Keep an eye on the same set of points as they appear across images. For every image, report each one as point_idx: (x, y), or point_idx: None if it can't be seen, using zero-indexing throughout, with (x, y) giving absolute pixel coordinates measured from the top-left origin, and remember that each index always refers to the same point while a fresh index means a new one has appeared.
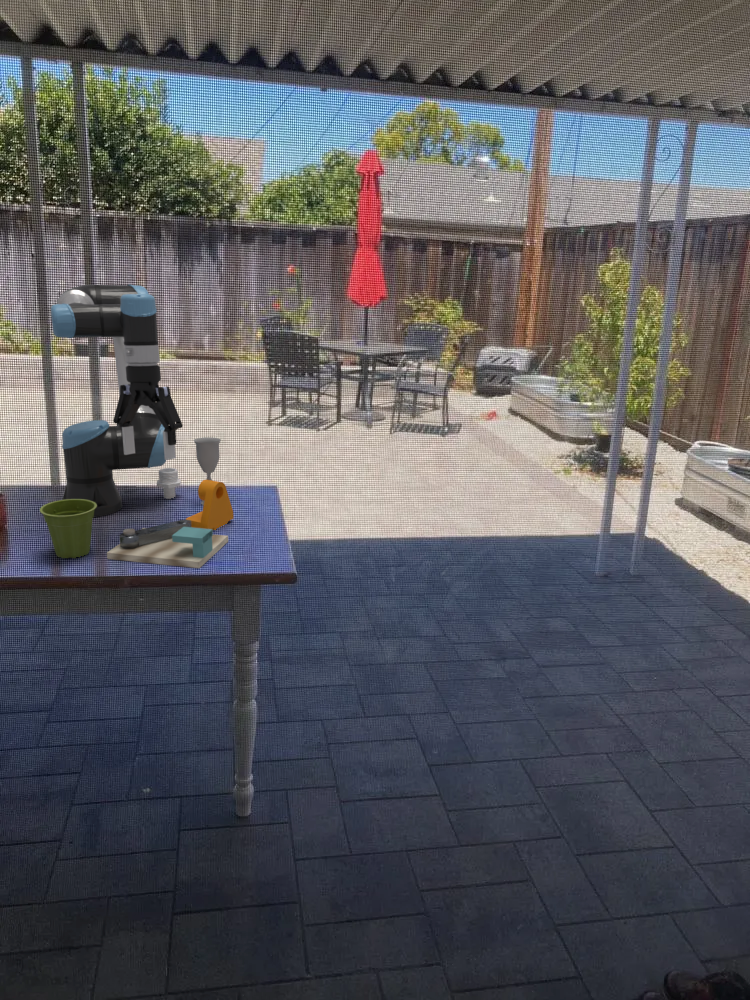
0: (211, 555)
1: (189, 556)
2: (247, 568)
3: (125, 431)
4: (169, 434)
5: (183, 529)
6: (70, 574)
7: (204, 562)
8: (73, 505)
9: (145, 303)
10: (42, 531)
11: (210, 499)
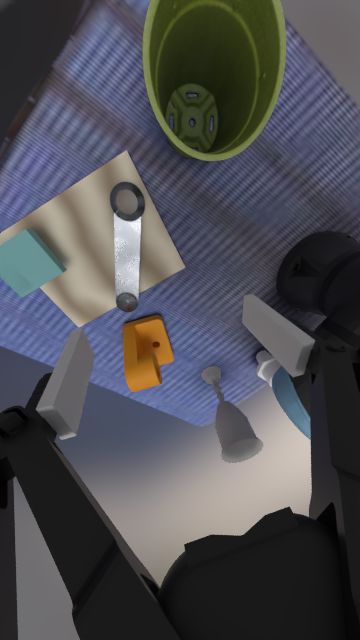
0: None
1: None
2: None
3: (289, 337)
4: (34, 408)
5: (48, 263)
6: (98, 32)
7: None
8: (247, 132)
9: None
10: (311, 157)
11: (126, 356)
